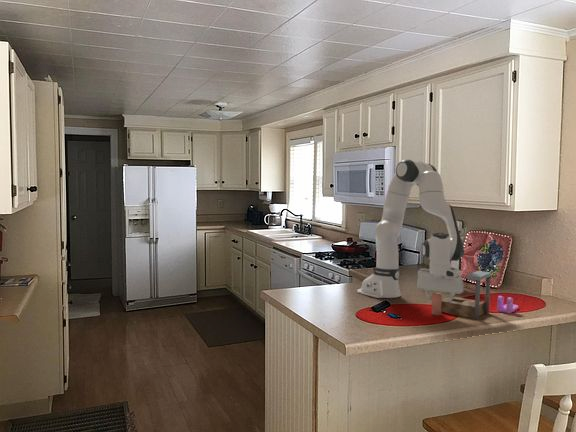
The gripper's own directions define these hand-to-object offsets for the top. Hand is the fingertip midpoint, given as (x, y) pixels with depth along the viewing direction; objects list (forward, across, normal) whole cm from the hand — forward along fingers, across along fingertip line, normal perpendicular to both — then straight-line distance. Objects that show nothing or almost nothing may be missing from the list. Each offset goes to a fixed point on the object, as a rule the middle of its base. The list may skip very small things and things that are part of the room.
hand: (439, 301), depth 223 cm
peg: (+6, -1, -1) cm, 6 cm away
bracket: (+7, +21, +30) cm, 37 cm away
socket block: (+6, +6, +10) cm, 13 cm away
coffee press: (+6, -20, +57) cm, 60 cm away
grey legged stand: (+6, +13, +10) cm, 18 cm away
